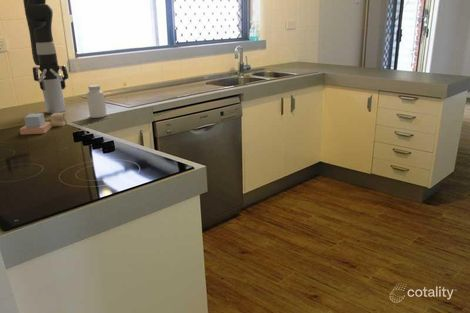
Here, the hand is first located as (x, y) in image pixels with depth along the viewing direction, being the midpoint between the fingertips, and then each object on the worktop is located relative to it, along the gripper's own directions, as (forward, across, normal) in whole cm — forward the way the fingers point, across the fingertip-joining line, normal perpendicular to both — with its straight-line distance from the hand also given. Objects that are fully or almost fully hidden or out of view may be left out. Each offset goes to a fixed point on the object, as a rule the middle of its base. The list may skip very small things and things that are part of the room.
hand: (53, 89), depth 187 cm
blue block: (+14, +7, +9) cm, 18 cm away
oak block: (+16, 0, 0) cm, 16 cm away
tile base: (+16, +7, +9) cm, 20 cm away
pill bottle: (+16, -15, -12) cm, 25 cm away
